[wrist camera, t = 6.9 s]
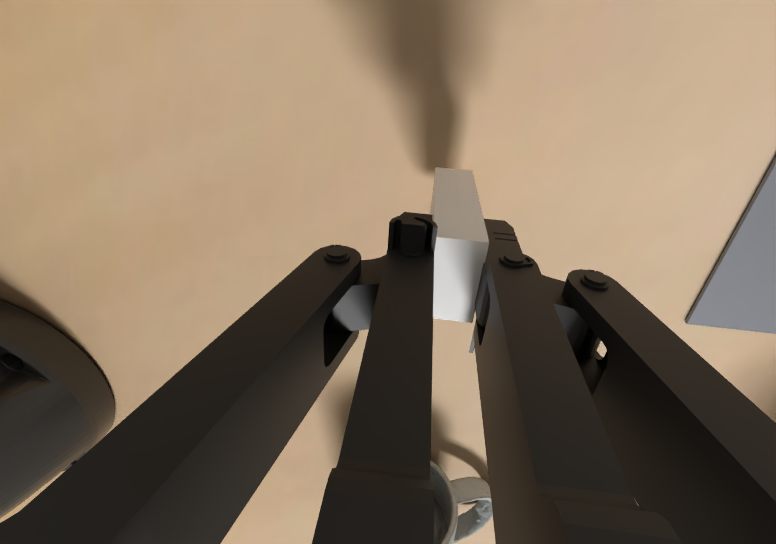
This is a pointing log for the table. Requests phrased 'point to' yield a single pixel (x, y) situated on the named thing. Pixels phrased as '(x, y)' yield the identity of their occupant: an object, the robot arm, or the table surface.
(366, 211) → the table surface
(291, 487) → the table surface
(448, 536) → the ceramic mug
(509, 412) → the robot arm
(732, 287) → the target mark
